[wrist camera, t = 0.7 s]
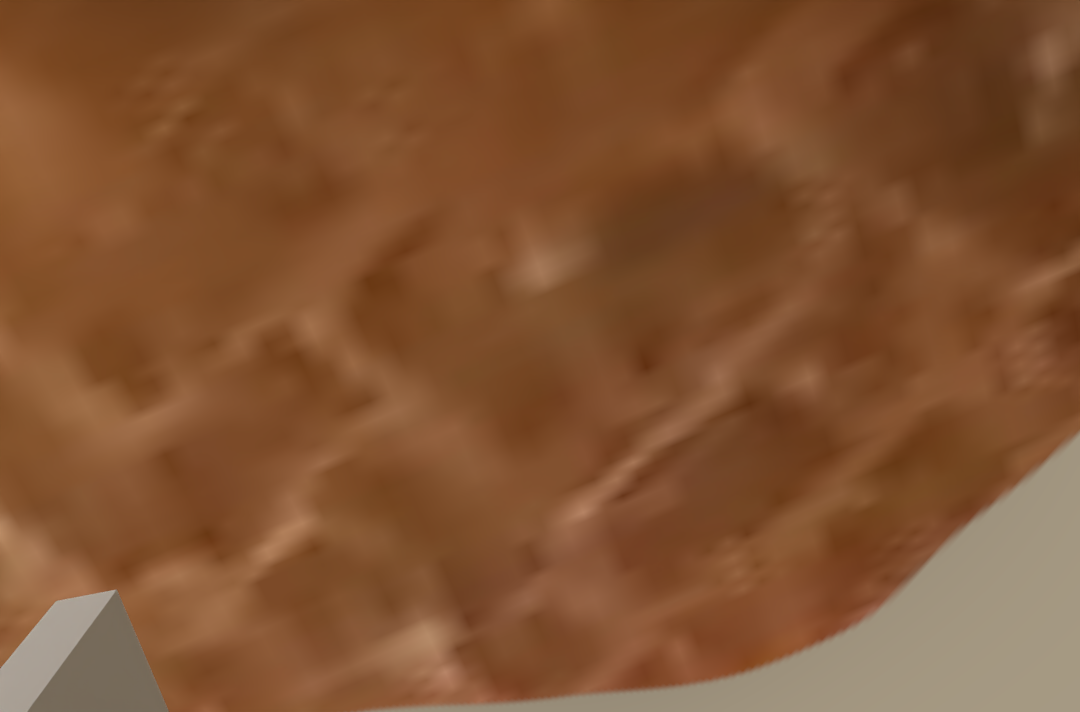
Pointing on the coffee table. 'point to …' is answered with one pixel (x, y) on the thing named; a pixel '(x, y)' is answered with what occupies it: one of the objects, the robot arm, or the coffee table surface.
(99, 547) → the coffee table surface
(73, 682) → the robot arm
